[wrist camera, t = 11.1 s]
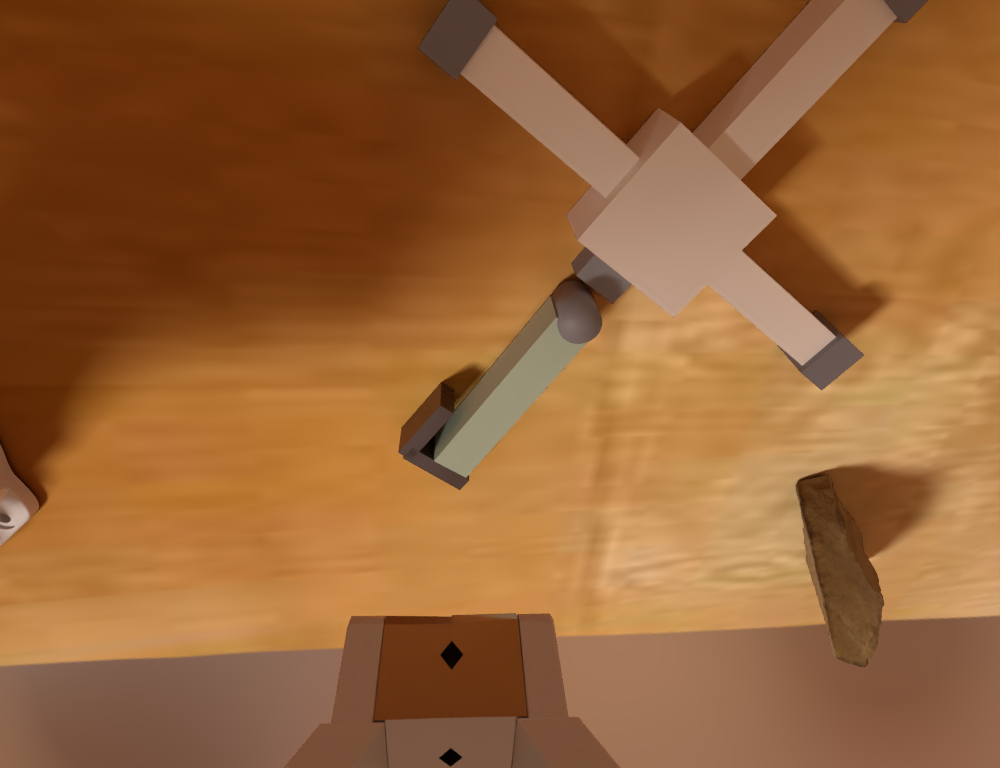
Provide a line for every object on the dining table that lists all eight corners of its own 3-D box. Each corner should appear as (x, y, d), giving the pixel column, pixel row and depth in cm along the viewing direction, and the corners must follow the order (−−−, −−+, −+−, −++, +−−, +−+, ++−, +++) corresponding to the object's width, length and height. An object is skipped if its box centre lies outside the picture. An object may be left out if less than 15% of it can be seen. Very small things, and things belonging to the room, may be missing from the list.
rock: (773, 488, 44) (742, 602, 48) (910, 555, 38) (861, 678, 42) (842, 444, 51) (810, 547, 55) (967, 494, 45) (920, 606, 49)
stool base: (749, 402, 43) (773, 438, 40) (376, 110, 32) (366, 126, 29) (1033, 157, 35) (1094, 176, 32) (667, -332, 25) (700, -381, 21)
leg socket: (459, 464, 44) (459, 489, 42) (399, 429, 43) (396, 454, 40) (501, 420, 43) (504, 444, 40) (441, 382, 41) (440, 405, 39)
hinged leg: (568, 272, 37) (577, 296, 34) (600, 294, 38) (611, 319, 35) (435, 433, 43) (433, 464, 40) (465, 449, 43) (465, 480, 41)
